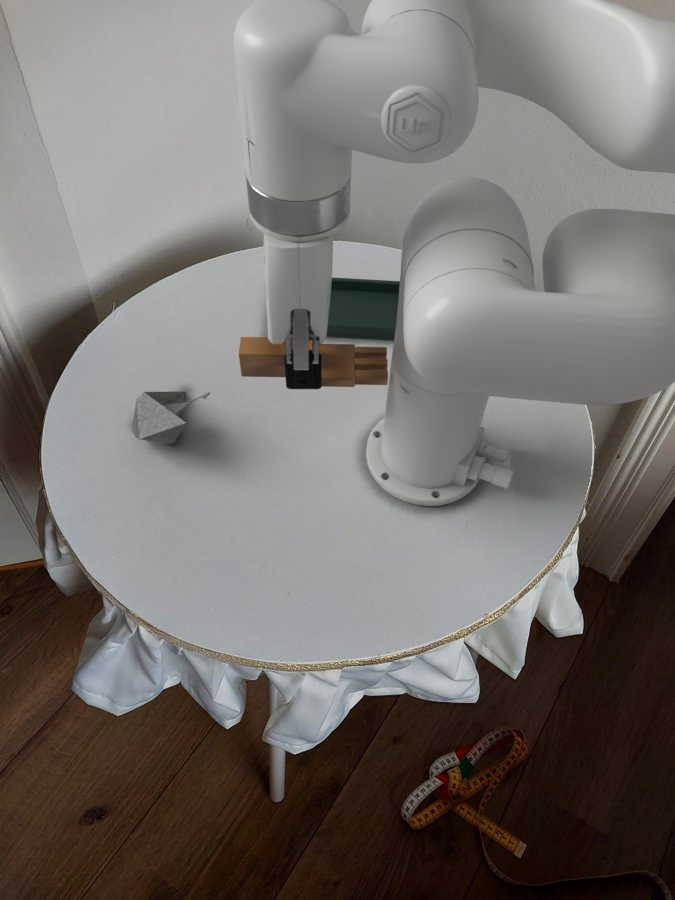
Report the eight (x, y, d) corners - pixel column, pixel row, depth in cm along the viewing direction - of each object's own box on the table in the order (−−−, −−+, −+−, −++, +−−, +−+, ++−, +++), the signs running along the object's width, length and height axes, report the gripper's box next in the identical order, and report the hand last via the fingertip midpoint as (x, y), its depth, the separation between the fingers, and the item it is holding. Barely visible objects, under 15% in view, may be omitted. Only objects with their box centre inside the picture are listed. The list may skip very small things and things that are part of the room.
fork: (240, 385, 66) (237, 363, 64) (244, 351, 69) (241, 328, 67) (387, 387, 67) (389, 365, 64) (385, 353, 69) (388, 330, 67)
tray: (409, 293, 93) (410, 281, 92) (409, 341, 88) (411, 329, 87) (276, 286, 94) (275, 274, 92) (268, 333, 88) (267, 321, 87)
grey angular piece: (119, 390, 81) (193, 352, 81) (149, 437, 84) (220, 401, 84) (112, 424, 70) (197, 381, 70) (146, 477, 73) (228, 435, 73)
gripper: (254, 131, 58) (268, 304, 73) (239, 269, 48) (259, 437, 62) (348, 132, 58) (343, 305, 73) (353, 269, 48) (346, 438, 63)
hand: (304, 364), depth 67 cm, fingers closed on fork, 4 cm apart
